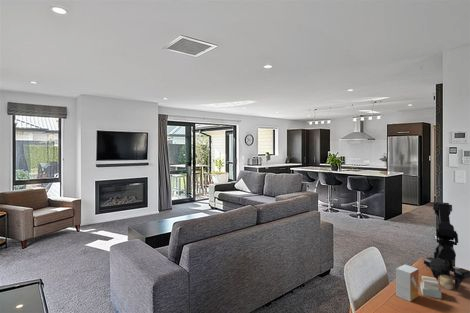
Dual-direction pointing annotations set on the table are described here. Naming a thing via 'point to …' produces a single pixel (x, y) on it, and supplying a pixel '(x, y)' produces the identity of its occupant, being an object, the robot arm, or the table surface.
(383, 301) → the table surface
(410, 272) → the small box
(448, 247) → the robot arm
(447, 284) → the maple cylinder
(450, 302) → the table surface
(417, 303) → the table surface
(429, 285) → the cream top block
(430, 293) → the sage base block
